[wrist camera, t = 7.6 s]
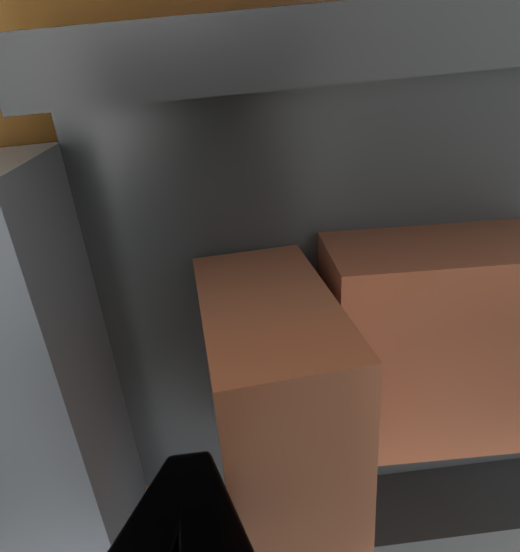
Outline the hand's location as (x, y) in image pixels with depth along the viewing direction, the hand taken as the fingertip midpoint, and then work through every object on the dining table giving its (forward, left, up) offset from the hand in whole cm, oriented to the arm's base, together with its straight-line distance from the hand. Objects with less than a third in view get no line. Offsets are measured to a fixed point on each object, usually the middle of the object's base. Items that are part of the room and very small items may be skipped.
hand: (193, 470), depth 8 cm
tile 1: (0, -5, -2) cm, 6 cm away
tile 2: (0, 0, -2) cm, 2 cm away
